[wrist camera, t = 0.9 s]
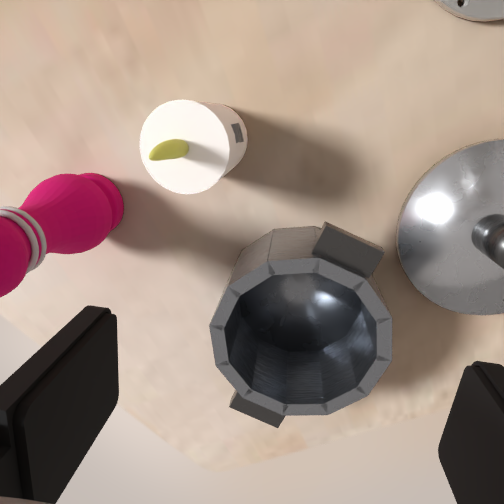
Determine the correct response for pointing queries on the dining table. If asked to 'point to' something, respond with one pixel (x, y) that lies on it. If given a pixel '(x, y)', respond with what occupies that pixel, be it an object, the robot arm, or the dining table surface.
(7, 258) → the pepper mill
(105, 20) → the dining table surface
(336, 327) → the pot
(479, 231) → the lid
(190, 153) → the candle
